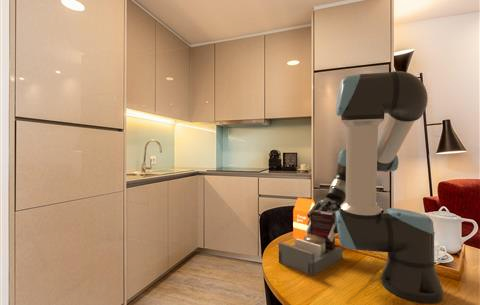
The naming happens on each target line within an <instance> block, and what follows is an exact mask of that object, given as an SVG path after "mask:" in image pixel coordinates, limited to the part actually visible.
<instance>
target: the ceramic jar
mask: <svg viewBox="0 0 480 305" xmlns="http://www.w3.org/2000/svg"><path fill="white" fill-rule="evenodd" d="M303 240H304V241H308V242H311V243H314V244H318V245H321V255H323V254H325V242H326V239H325V238H324V237H323V236H320V235H305V236H304V237H303Z"/></svg>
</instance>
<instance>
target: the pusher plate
mask: <svg viewBox="0 0 480 305" xmlns="http://www.w3.org/2000/svg"><path fill="white" fill-rule="evenodd" d="M294 245H295V247H297V248H300V249H303V250H306V251H309V252H312V253H314V259H315V258H317V257H319V256H321V245H318V244H314V243H311V242H308V241H304V240H301V239H297V238H294Z"/></svg>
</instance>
